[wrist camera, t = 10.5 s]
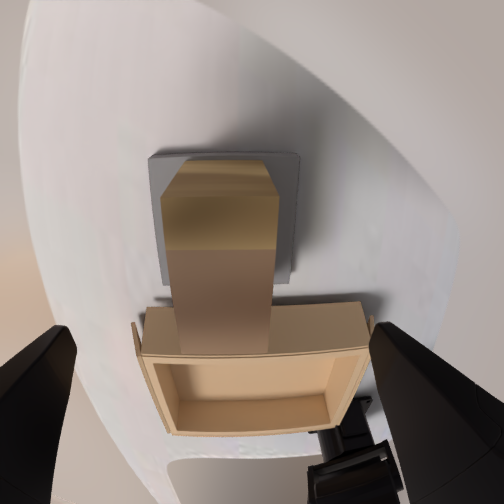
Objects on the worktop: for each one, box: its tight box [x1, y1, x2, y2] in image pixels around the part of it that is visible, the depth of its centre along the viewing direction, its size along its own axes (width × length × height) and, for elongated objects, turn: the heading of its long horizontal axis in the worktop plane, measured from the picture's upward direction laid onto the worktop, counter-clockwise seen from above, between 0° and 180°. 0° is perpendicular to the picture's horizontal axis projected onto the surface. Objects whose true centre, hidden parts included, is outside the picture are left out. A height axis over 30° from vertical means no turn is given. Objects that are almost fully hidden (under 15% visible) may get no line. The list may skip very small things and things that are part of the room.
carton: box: [131, 301, 374, 437], centre depth 22 cm, size 14×18×4 cm
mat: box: [148, 152, 300, 285], centre depth 17 cm, size 8×8×1 cm
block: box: [160, 160, 280, 354], centre depth 14 cm, size 8×4×6 cm, turn 178°
